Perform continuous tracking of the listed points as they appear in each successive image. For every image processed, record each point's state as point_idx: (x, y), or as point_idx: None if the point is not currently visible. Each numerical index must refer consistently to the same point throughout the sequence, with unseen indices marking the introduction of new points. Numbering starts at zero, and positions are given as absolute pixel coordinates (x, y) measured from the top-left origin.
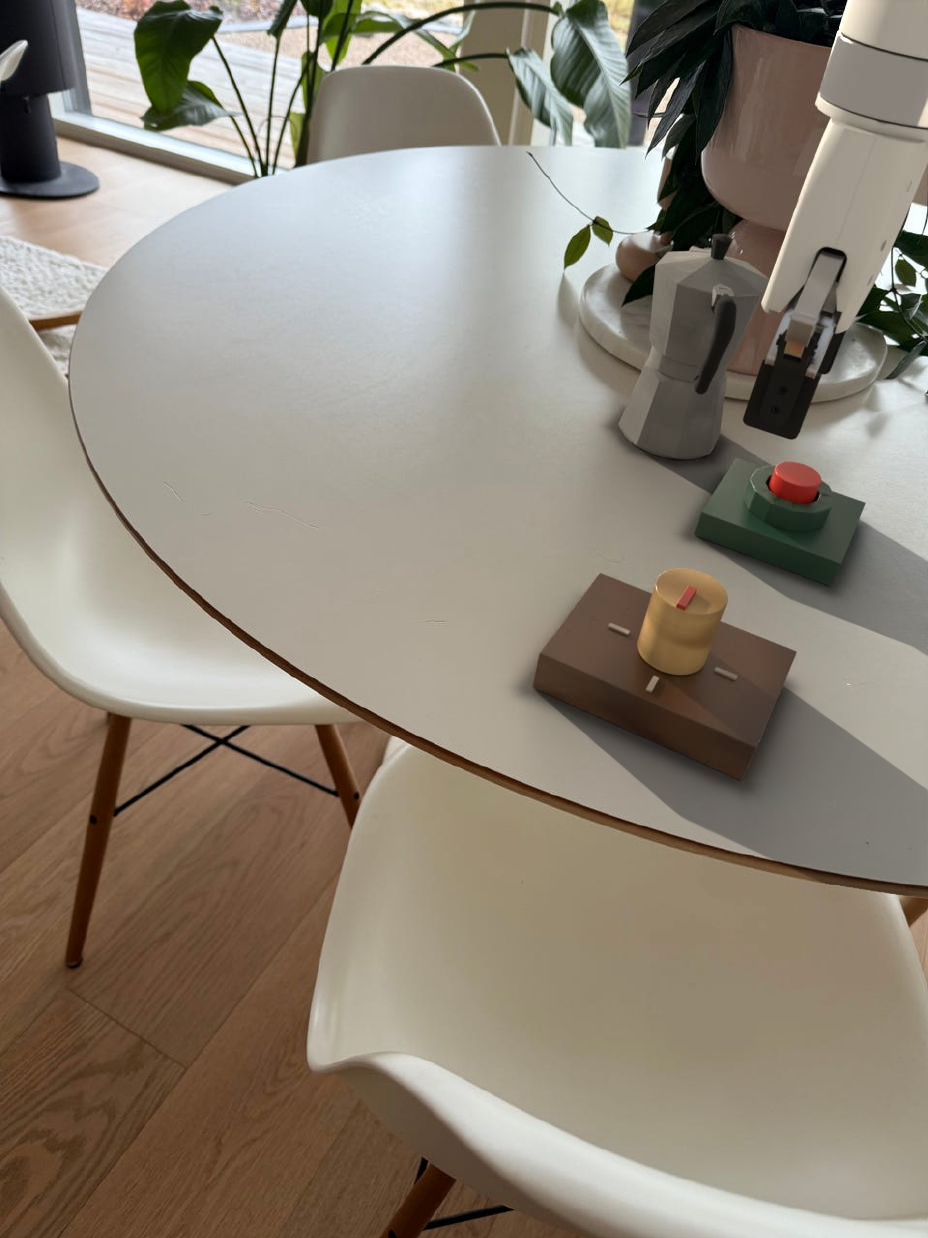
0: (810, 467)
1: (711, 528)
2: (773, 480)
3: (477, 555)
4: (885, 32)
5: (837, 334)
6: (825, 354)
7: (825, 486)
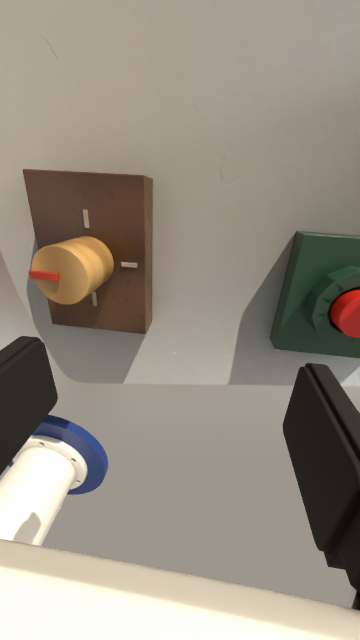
0: None
1: (296, 246)
2: (353, 295)
3: (158, 28)
4: None
5: (307, 499)
6: (295, 447)
7: None
